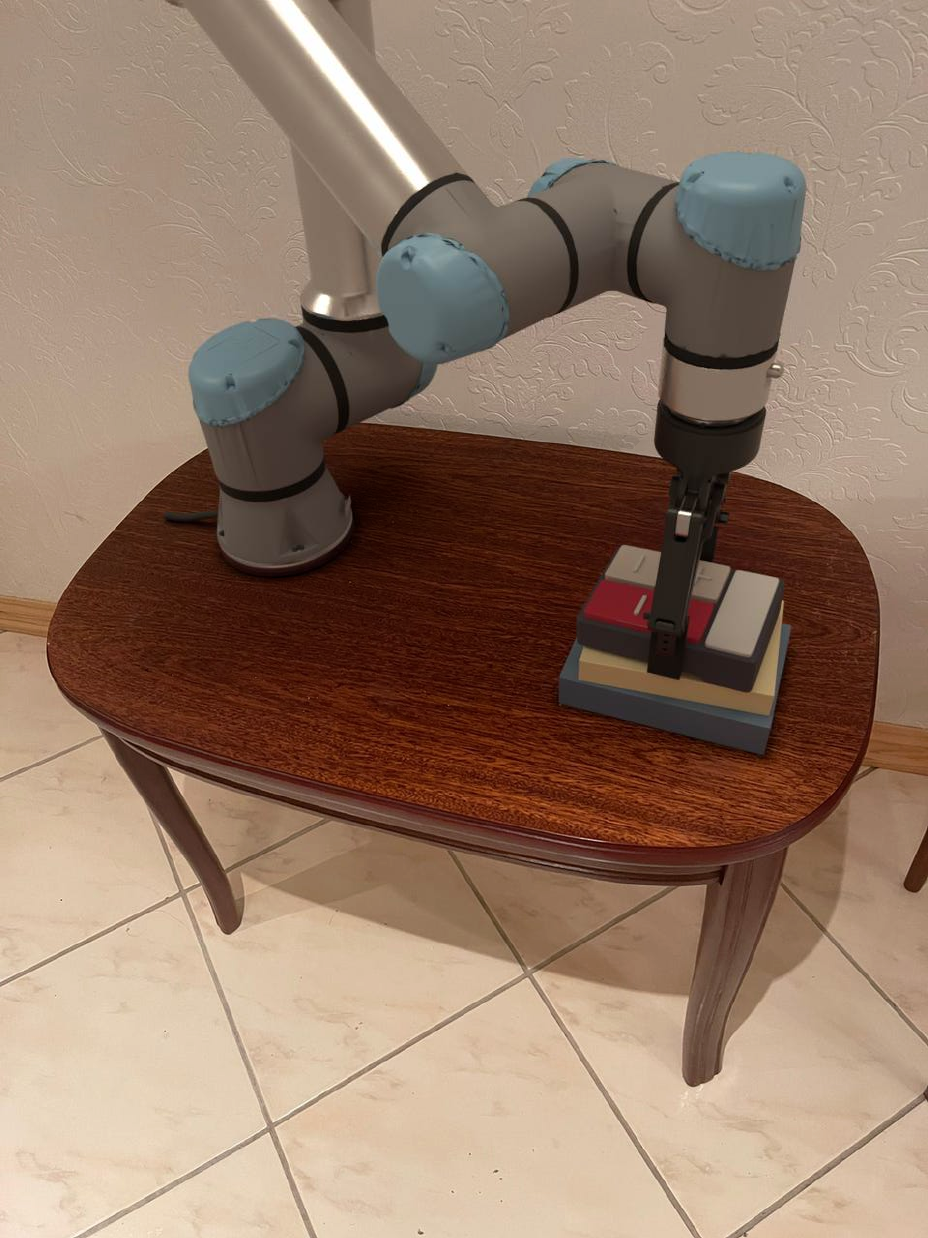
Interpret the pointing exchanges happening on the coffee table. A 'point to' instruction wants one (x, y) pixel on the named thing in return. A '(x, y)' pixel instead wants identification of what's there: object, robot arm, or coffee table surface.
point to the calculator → (719, 615)
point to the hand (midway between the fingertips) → (679, 626)
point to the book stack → (677, 695)
